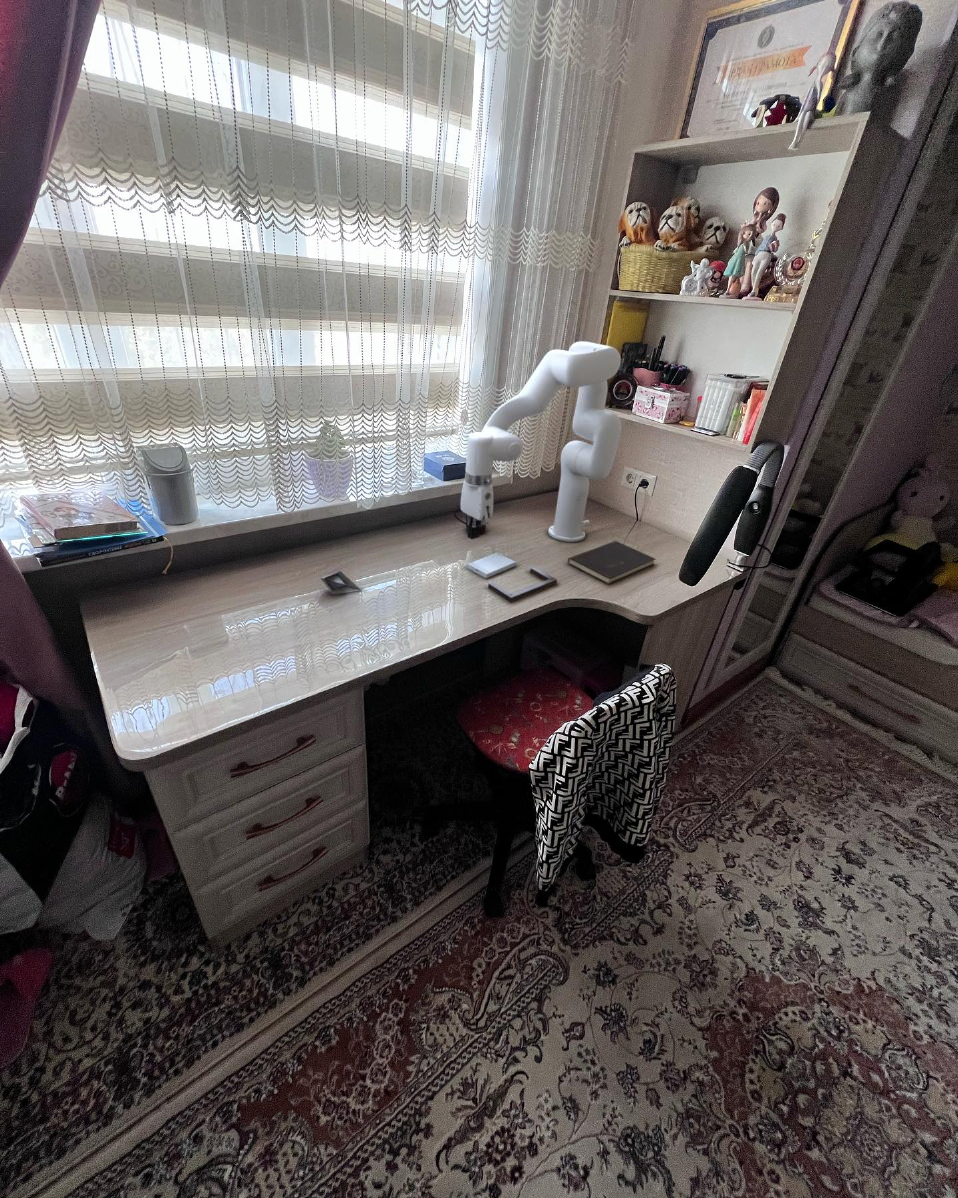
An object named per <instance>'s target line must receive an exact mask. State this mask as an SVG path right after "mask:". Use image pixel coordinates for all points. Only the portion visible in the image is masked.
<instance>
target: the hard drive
mask: <svg viewBox="0 0 958 1198" xmlns="http://www.w3.org/2000/svg"><path fill="white" fill-rule="evenodd" d="M516 565H517V562H516V561H515V560H514V559H511V558H509V557H507V556H505V555H503V554H501V553H499V552H495V553H493V554H490V555H487V556H485V557H482V558H480V559H477V560H474V561H472V562H469V563H467V564H466V568H467V569H468V570H470V571H472V572H474V573H475V574H477V575H479V576H480V577H482V578H484V579H488V578H490V577H493V576H495V575H497V574H500V573H502V572H504V571H507V570H509V569H512V568H513V567H516Z"/></svg>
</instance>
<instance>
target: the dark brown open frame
mask: <svg viewBox="0 0 958 1198" xmlns="http://www.w3.org/2000/svg"><path fill="white" fill-rule="evenodd" d="M529 573H531V574H532V575H534V576H535V577H537V578H539V579H541V580H542V581H540V582H538V583H536V584H533V585H531V586H528V587H525V588H522V589H520V590H517V591H515V592H513V593H511V592H509V591H507V590H506V589H504V588H503V587H501V586H500V585H498V584H497V583H495V582H493V581H490V582H489V583H488V585H487V589H489V590H491V591H492V592H494V593H495V594H497V595H498V596H500V597H501V598H503V599H505V600H506V601H507V602H509V603H514V602H516V601H518V600H520V599H522V598H526V597H528V596H530V595H533V594H535V593H538V592H540V591H543V590H546V589H548V588H550V587H552V586H555V585H557V582H558V579H557V578H555V577H554V576H552V575H550V574H547V573H546V572H544V571H543V570H540V569H539V568H537V567H535V566H532V567H530V569H529Z"/></svg>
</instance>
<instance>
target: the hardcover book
mask: <svg viewBox="0 0 958 1198" xmlns="http://www.w3.org/2000/svg"><path fill="white" fill-rule="evenodd" d="M655 560H656V558H655V557H653V556H650V555H649V554H647V553H644V552H642V551H639V550H637V549H635V548H633V547H631V546H628V545H626V544H625V543H622V542H620V541H617V540H614V541H611V542H608V543H606V544H603V545H600V546H598V547H595V548H592V549H590V550H586V551H583V552H581V553H578V554H575V555H573V556H570V557H568V558H567V564H568V565H569V566H571V567H573V568H575V569H577V570H579V571H580V572H583V573H585V574H586V575H588V576H591V577H592V578H594V579H596V580H598V581H600V582H602V583H604V584H606V585H612V584H614V583H616V582H619V581H621V580H623V579H626V578H627V577H630V576H632V575H634V574H637V573H639V572H641V571H644V570H646V569H648V568H651V567H653V566H654V565H655V564H654V562H655Z"/></svg>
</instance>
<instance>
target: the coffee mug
mask: <svg viewBox="0 0 958 1198" xmlns="http://www.w3.org/2000/svg"><path fill="white" fill-rule="evenodd" d="M459 510H461V507H456V509H454V511H453V516H454V518H455V519H456V520H457V521H459V522H461V524H464V525H465V529H466V533H468V524H467V518H466V516H465V515H464V517H465V521H464V520H462V519H460V518H458V517H457V515H456V514H457V511H459ZM477 521H478V520H477ZM487 525H488V524H486V525H481V526H480V531H479V536H481V535H483V534H485V533H486V530H487V529H486V528H487Z"/></svg>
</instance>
